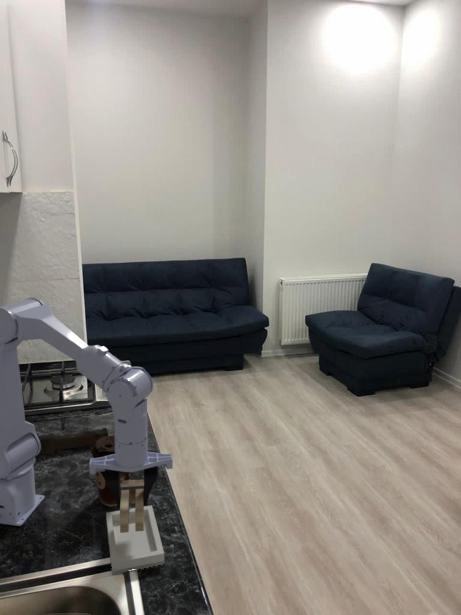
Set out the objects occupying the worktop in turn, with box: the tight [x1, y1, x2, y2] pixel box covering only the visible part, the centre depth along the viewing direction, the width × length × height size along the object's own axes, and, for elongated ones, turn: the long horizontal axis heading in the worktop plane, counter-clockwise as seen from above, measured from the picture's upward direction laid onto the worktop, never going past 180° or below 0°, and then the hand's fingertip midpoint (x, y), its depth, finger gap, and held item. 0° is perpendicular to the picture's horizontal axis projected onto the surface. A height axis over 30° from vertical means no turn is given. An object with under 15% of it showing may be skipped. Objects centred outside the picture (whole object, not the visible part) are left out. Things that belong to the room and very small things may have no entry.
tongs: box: [119, 478, 145, 533], centre depth 92 cm, size 10×4×4 cm, turn 9°
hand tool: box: [37, 427, 109, 456], centre depth 127 cm, size 19×4×5 cm, turn 110°
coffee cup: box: [90, 434, 132, 507], centre depth 106 cm, size 9×8×13 cm
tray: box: [105, 505, 165, 576], centre depth 94 cm, size 14×9×2 cm, turn 17°
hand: (132, 503), depth 93 cm, fingers closed on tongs, 4 cm apart
